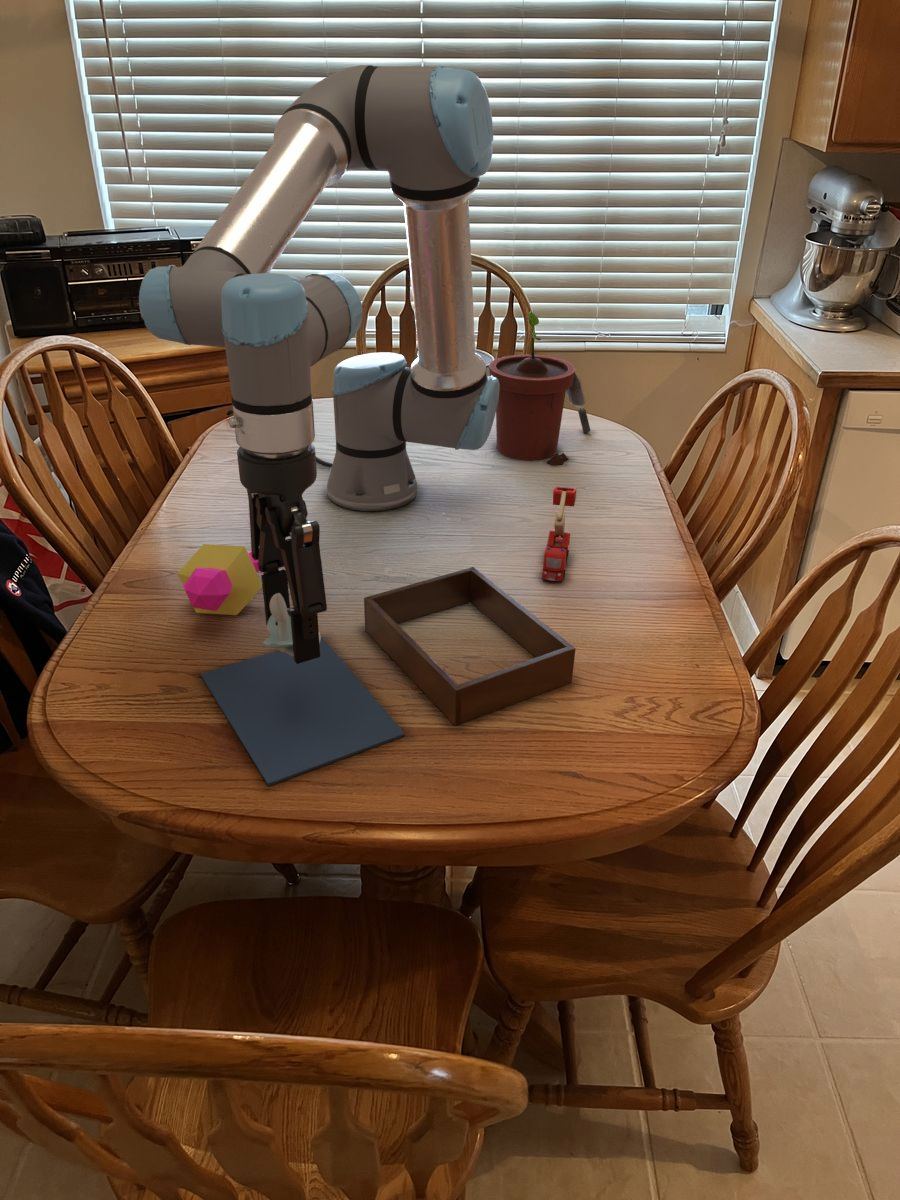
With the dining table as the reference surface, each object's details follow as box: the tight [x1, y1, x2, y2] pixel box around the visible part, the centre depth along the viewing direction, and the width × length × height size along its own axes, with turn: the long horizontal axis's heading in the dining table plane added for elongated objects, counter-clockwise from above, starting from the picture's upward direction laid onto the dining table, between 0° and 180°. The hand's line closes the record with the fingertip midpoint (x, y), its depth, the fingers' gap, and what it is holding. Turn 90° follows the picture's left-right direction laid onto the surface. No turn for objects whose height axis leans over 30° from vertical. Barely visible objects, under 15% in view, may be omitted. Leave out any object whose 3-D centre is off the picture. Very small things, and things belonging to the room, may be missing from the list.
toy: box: [177, 543, 263, 616], centre depth 120 cm, size 10×18×10 cm, turn 175°
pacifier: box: [262, 593, 321, 656], centre depth 97 cm, size 7×6×6 cm
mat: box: [199, 637, 406, 787], centre depth 104 cm, size 22×16×1 cm
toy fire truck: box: [541, 486, 577, 582], centre depth 132 cm, size 3×14×10 cm, turn 168°
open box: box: [363, 566, 576, 726], centre depth 112 cm, size 23×17×5 cm
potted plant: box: [488, 310, 591, 466], centre depth 167 cm, size 18×22×25 cm
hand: (292, 640), depth 99 cm, fingers closed on pacifier, 7 cm apart
